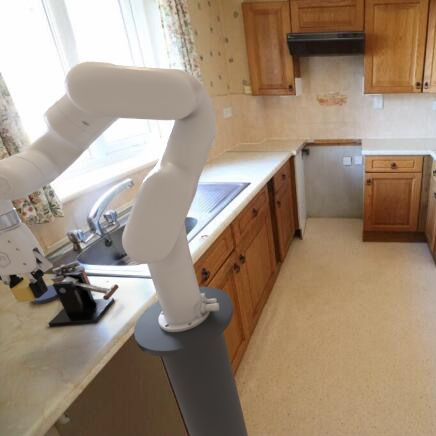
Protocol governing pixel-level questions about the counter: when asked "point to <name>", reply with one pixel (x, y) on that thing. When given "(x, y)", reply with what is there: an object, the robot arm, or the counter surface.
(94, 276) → the counter surface
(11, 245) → the robot arm
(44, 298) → the dish
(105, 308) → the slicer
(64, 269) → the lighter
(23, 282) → the butter
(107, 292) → the lever
